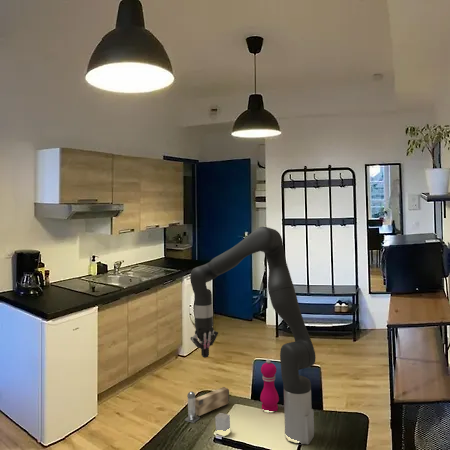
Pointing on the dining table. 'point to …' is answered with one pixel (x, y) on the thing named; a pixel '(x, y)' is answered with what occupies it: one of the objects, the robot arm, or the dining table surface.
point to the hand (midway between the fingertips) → (205, 357)
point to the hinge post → (191, 408)
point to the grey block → (222, 421)
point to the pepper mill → (269, 387)
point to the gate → (211, 400)
